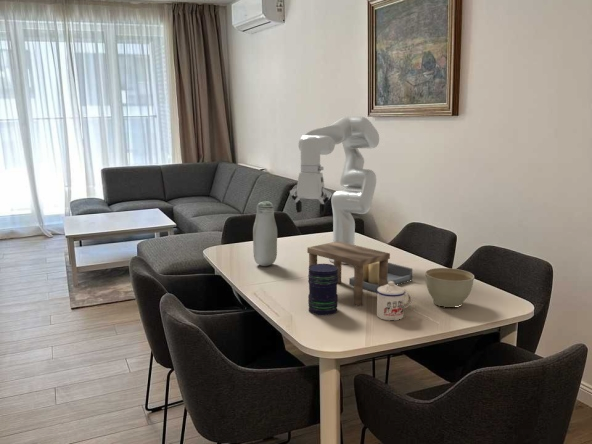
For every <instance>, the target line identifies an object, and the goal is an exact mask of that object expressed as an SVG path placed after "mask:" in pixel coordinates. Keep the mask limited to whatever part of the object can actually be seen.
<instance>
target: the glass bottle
mask: <svg viewBox="0 0 592 444" xmlns="http://www.w3.org/2000/svg"><path fill="white" fill-rule="evenodd" d="M274 211H275V207H274V204H273V203H272V202H271V201H266V200H265V201H261V202H259V203H257V205H256V214H255V219H254V222H253V226H252V243H253V244H252V245H253V259H254V262H255V263H256V264H257V265H259V266H262V267H267V266H268V267H269V266H272V265H273V264H274V263H275V262H276V260H277V255H278V227H277V223H276V219H275V212H274Z"/></svg>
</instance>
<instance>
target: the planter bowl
mask: <svg viewBox="0 0 592 444" xmlns="http://www.w3.org/2000/svg"><path fill="white" fill-rule="evenodd" d="M474 280H475V274H473V273H472V272H470V271H467V270H462V269H458V268H451V267H435V268H431V269H427V270H426V271H425V282H426V283H425V284H426V288H427V291H428V293H429V295H430V297H431V298H432V299H433V304H434V303H435V304H434V305H435V306H437V305H439V306H438V307H440V306H444V307H443V308H445V307H455V306H459V305H461V304H462V305H463V303H464V302H465V301H466V299H468V297H469V295H470V294H471V291H472V289H473V284H474Z"/></svg>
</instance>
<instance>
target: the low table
mask: <svg viewBox="0 0 592 444" xmlns="http://www.w3.org/2000/svg"><path fill="white" fill-rule="evenodd" d="M306 250H307V251H306V252H307V253H308V267H309V266H311V265H314V264H318V257H322V258H326V259H332V260H334V263H333V265H335V266H337V267H338V284H342V265H343V264H342V262H343V263H347V265H352V266H353V267H354V269H353V270H354V272H353V273H354V276H353V277H354V286H353V305H354V306H356V305H357V306H358V307H359V305H361V306H362V305H363V303H364V301H363V300H364V299H363V298H364V297H363V296H364V295H363V292H364V289H363V266H364V265H368V264H372V263H376V262H379V287H380V286H384V285H386V284H387V277H388V263H389V259H390V258H391V253H390V252H386V251H381V250H377V249H372V248H368V247H365V246H364V247H363V246H359V245H355V244H354V245H352V244H348V243H344V242H339V241H336V242H333V241H332V242H327V243H323V244H318V245H313V246H308V247H307V249H306Z"/></svg>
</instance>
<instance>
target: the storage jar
mask: <svg viewBox="0 0 592 444" xmlns="http://www.w3.org/2000/svg"><path fill="white" fill-rule="evenodd" d="M307 277H308V278H307V279H308V290H309V291H308V293H309V294H308V297H307V298H308V300H307V302H308V304H307V305H308V312H309V314H312V315H316V316H325V317H326V316H333V315H335V314H336V313H338V303H339V300H338V298H339V297H338V284H339V283H338V267H337V266H335V265H334V264H331V263H317V264H314V265H311V266H309V265H308V276H307Z"/></svg>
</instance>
